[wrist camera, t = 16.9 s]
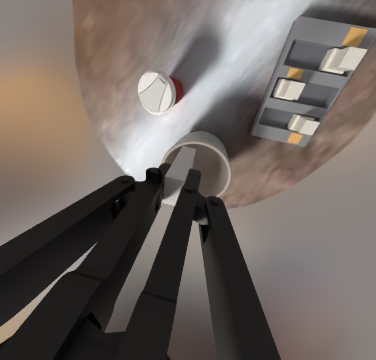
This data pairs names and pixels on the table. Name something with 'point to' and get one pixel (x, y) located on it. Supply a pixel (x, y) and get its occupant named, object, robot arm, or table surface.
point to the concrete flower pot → (206, 161)
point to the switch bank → (307, 76)
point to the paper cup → (159, 91)
